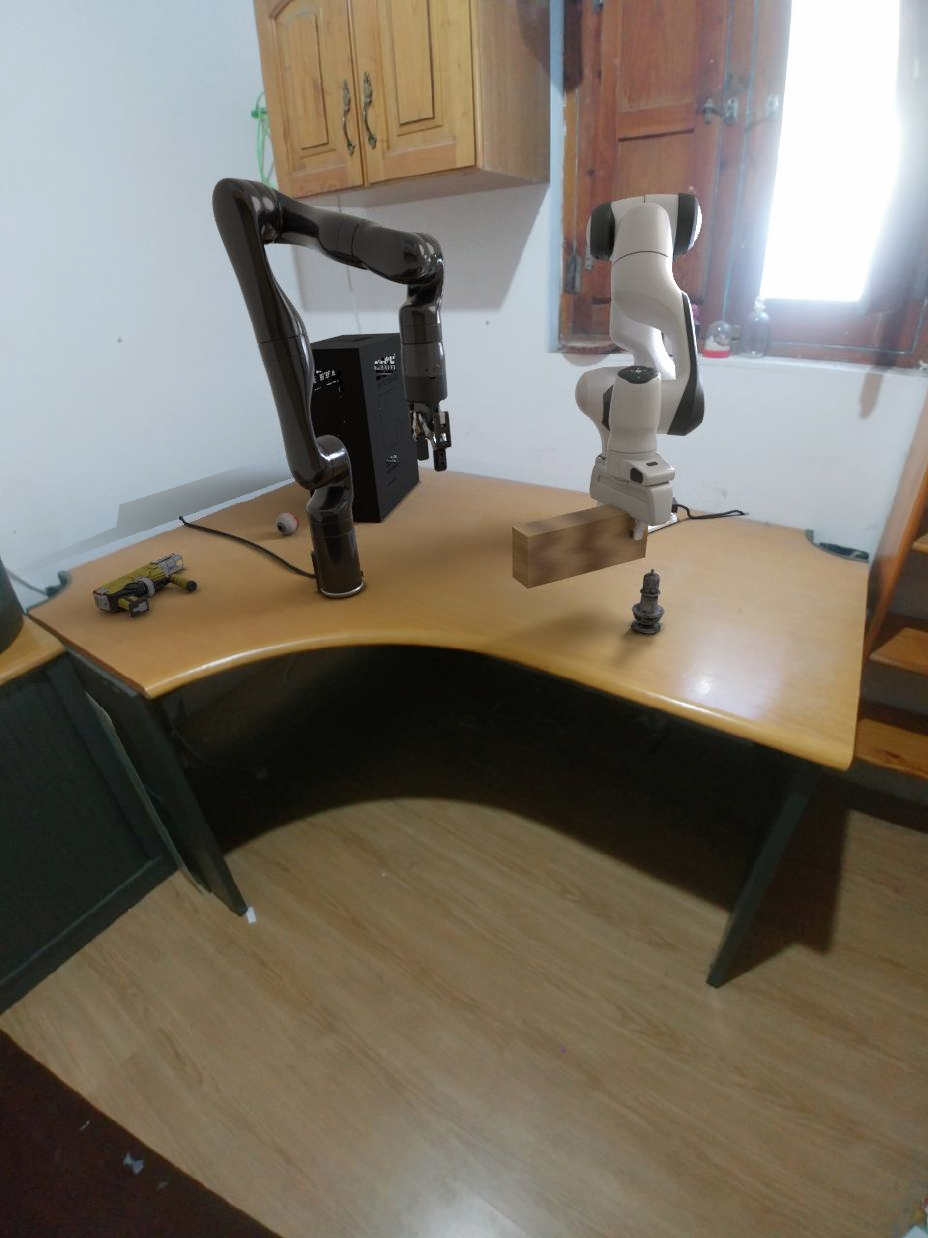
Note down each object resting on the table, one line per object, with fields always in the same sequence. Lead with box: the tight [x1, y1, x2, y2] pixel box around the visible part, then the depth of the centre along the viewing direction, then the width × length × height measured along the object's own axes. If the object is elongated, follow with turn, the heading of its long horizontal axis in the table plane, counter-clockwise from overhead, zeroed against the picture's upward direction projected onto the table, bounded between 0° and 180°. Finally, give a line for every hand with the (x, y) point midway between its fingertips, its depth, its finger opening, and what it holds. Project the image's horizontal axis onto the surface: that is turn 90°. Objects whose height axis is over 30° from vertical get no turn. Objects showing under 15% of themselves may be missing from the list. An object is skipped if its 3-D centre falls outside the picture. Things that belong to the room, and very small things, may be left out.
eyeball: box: [275, 511, 300, 536], centre depth 163 cm, size 6×6×6 cm
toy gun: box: [92, 552, 198, 618], centre depth 136 cm, size 5×24×15 cm
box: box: [511, 504, 649, 590], centre depth 115 cm, size 27×6×10 cm, turn 115°
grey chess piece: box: [631, 568, 665, 634], centre depth 111 cm, size 6×6×12 cm
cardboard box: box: [308, 332, 420, 523], centre depth 176 cm, size 38×20×45 cm, turn 167°
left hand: (431, 465), depth 111 cm, fingers open, 8 cm apart
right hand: (624, 532), depth 118 cm, fingers closed on box, 6 cm apart
